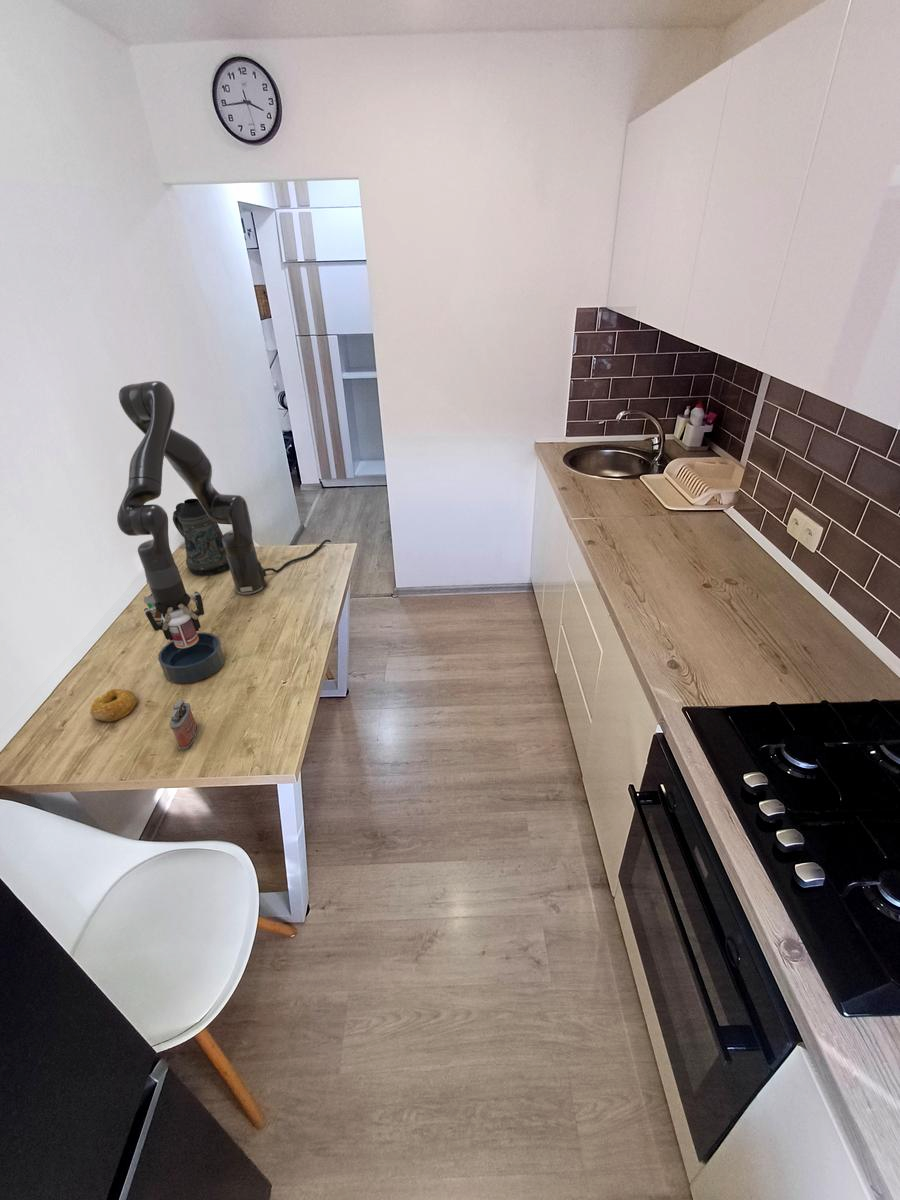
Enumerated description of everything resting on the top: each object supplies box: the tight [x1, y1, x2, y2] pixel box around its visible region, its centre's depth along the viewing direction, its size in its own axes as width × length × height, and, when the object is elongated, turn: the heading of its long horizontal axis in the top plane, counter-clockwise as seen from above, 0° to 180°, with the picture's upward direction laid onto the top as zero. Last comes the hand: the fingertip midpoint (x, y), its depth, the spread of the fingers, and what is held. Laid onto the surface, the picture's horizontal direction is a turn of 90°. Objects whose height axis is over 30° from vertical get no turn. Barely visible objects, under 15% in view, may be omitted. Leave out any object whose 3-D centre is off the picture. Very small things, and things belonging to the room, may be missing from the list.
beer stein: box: [172, 498, 230, 577], centre depth 202 cm, size 16×19×25 cm
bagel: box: [90, 688, 138, 723], centre depth 143 cm, size 10×11×5 cm
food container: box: [143, 593, 162, 623], centre depth 178 cm, size 12×6×10 cm, turn 168°
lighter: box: [169, 698, 200, 752], centre depth 132 cm, size 8×3×10 cm, turn 5°
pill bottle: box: [168, 609, 199, 649], centre depth 150 cm, size 6×6×11 cm
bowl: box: [157, 631, 226, 684], centre depth 156 cm, size 16×16×6 cm
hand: (184, 634), depth 152 cm, fingers closed on pill bottle, 6 cm apart
